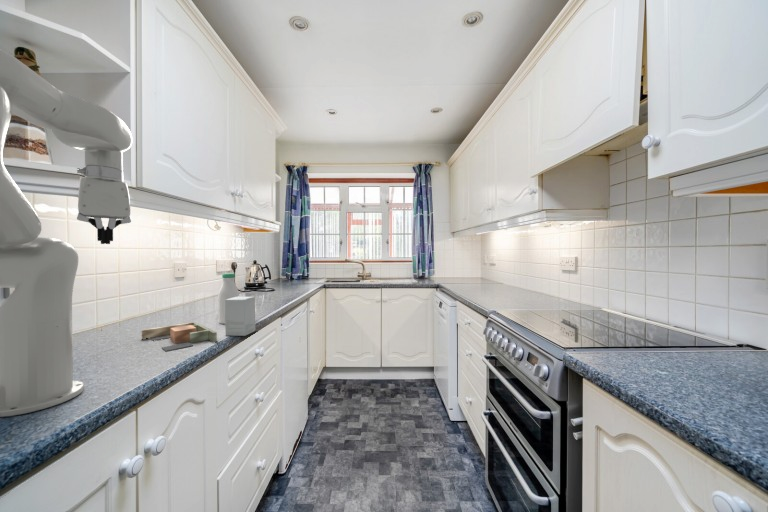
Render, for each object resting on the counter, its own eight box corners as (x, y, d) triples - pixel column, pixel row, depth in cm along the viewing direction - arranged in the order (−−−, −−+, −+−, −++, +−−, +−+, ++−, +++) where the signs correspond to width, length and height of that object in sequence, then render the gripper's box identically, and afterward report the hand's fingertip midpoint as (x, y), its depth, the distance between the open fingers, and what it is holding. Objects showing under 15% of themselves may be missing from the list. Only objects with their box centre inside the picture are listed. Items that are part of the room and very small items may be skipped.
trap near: (165, 351, 87) (165, 350, 87) (161, 348, 90) (161, 347, 90) (193, 346, 92) (193, 345, 92) (188, 343, 95) (188, 342, 95)
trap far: (153, 341, 97) (153, 340, 97) (149, 338, 100) (149, 337, 100) (178, 336, 102) (178, 335, 102) (174, 334, 105) (174, 333, 105)
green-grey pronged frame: (157, 353, 85) (157, 343, 85) (141, 339, 99) (141, 330, 99) (216, 341, 97) (216, 332, 97) (194, 330, 111) (194, 321, 111)
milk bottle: (240, 322, 122) (239, 273, 122) (218, 325, 118) (218, 274, 118) (238, 319, 129) (238, 272, 129) (217, 321, 125) (217, 273, 125)
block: (174, 344, 95) (174, 331, 95) (170, 340, 99) (170, 328, 99) (196, 340, 99) (196, 327, 99) (191, 336, 103) (191, 324, 103)
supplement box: (256, 330, 110) (256, 296, 110) (244, 336, 103) (244, 299, 103) (237, 330, 111) (236, 296, 111) (224, 335, 103) (224, 299, 103)
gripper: (64, 167, 73) (65, 243, 73) (142, 178, 84) (143, 244, 85) (63, 173, 78) (64, 243, 78) (137, 182, 89) (137, 244, 90)
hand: (105, 243), depth 82 cm, fingers closed
